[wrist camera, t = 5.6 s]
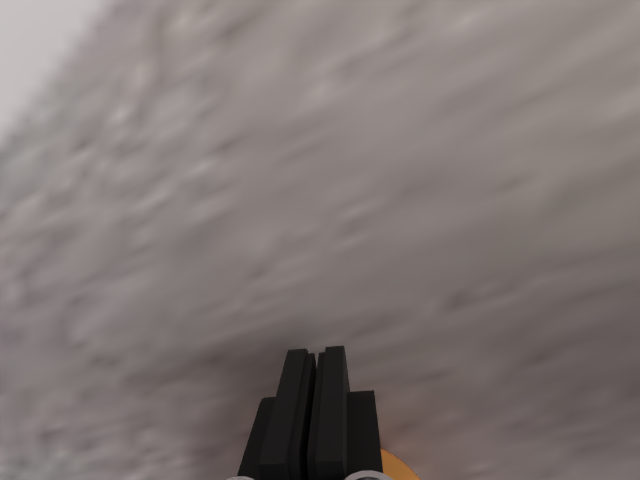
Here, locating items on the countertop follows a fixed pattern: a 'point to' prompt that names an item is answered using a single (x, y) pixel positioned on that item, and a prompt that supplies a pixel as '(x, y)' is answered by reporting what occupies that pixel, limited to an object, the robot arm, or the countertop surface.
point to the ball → (396, 467)
